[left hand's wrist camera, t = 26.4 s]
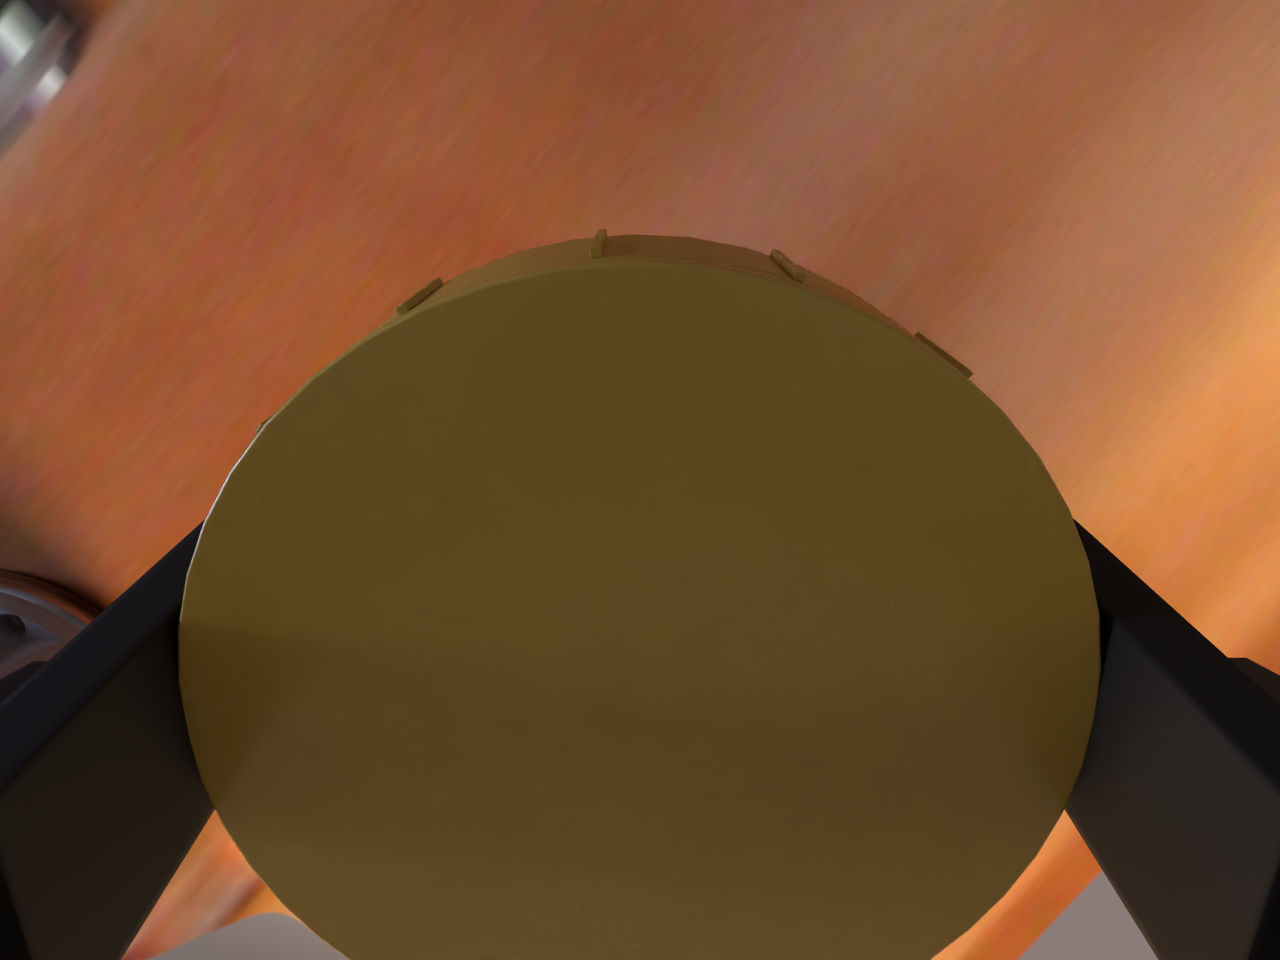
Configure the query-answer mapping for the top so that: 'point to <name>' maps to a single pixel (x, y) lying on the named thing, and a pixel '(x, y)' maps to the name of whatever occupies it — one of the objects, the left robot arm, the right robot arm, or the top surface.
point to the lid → (639, 624)
